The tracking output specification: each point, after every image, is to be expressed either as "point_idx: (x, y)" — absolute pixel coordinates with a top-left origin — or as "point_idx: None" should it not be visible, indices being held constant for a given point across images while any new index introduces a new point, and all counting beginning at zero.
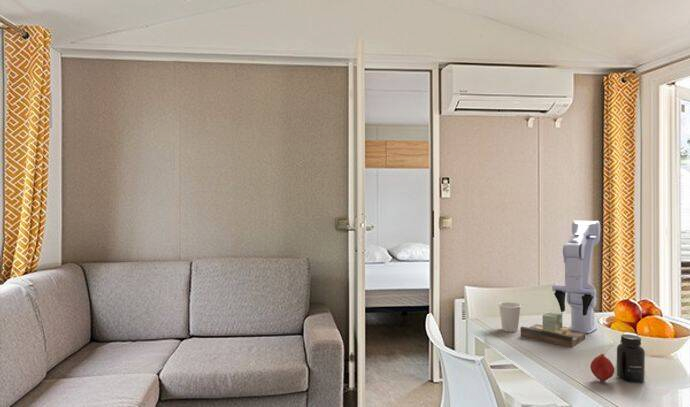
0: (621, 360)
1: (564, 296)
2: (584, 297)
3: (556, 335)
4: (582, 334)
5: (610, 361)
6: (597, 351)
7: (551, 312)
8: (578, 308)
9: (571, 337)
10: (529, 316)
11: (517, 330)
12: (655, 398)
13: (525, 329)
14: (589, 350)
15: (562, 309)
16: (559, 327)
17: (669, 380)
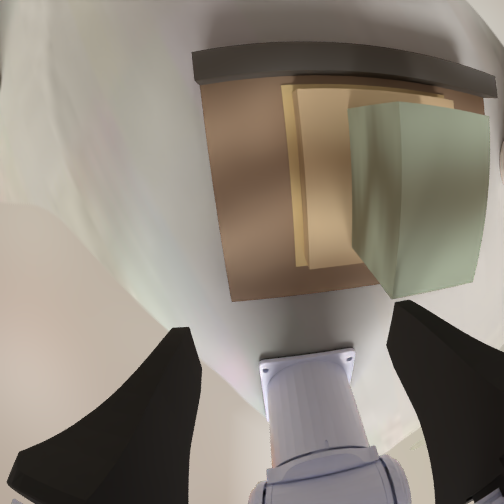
0: None
1: (442, 462)
2: (43, 489)
3: (298, 43)
4: (229, 267)
5: None
6: (90, 125)
7: (465, 269)
8: (326, 451)
9: (192, 56)
10: None
11: (501, 168)
12: None
13: (472, 70)
14: (118, 105)
15: (407, 312)
16: (355, 197)
17: None
